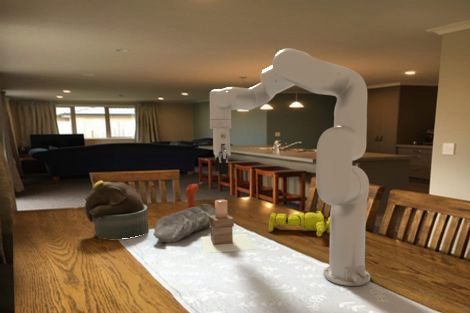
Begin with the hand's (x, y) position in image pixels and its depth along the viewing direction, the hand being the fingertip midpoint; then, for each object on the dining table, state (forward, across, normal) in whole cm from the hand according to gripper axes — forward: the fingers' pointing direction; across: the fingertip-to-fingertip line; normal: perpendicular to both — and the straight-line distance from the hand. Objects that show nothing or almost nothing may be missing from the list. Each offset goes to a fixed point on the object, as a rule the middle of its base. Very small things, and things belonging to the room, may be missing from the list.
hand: (221, 172), depth 132 cm
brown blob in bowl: (+26, +22, +39) cm, 52 cm away
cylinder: (+16, 0, 0) cm, 16 cm away
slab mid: (+22, 0, 0) cm, 22 cm away
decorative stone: (+27, +15, +12) cm, 33 cm away
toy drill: (+26, +52, +5) cm, 59 cm away
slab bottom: (+25, 0, 0) cm, 25 cm away
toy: (+27, +8, -36) cm, 46 cm away
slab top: (+19, 0, 0) cm, 19 cm away
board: (+26, -2, -2) cm, 26 cm away
